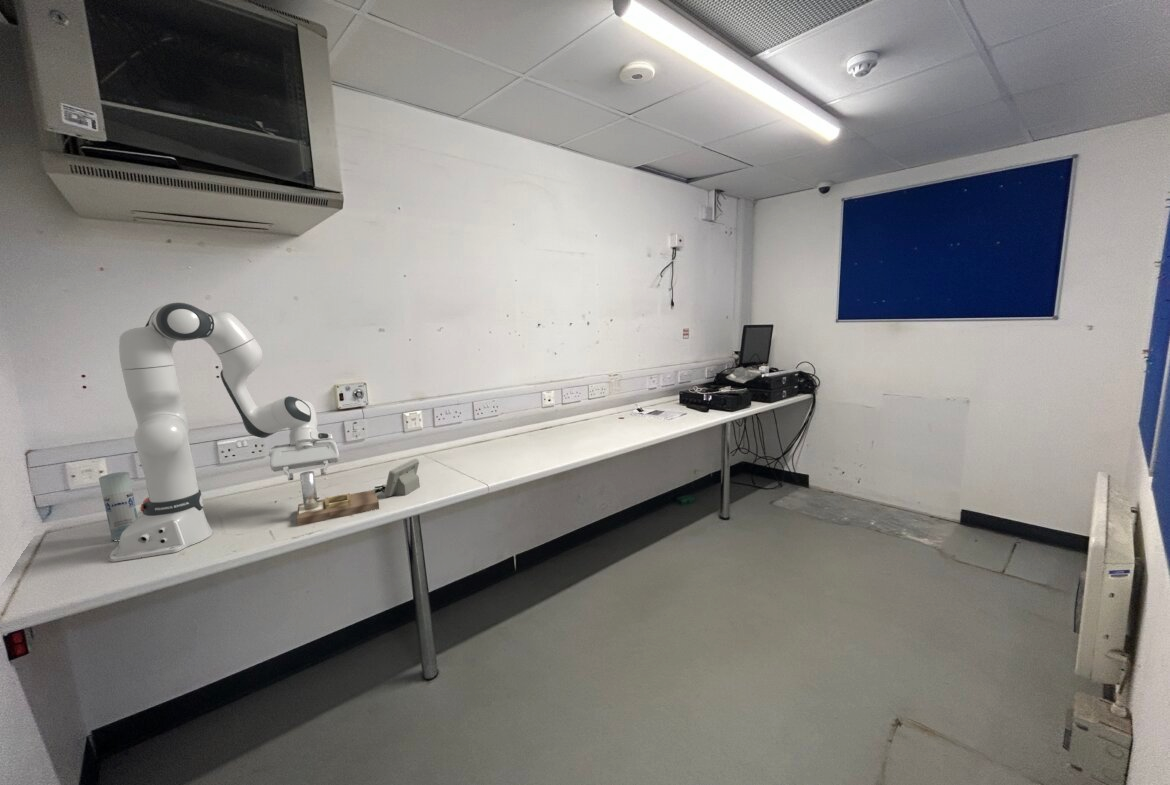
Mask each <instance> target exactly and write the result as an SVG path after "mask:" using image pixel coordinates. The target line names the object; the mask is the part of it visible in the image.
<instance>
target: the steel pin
mask: <svg viewBox="0 0 1170 785" xmlns="http://www.w3.org/2000/svg"><path fill="white" fill-rule="evenodd" d="M299 477H300V478H299V479H300V487H301V494H302V501H303V503H304V509H305V510H311V509H315V508H317V507H318V495H317V486H316V479H315V478H316V477H315V472H314V470H310V471H304V472H301V473H300V474H299Z"/></svg>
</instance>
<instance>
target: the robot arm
mask: <svg viewBox="0 0 1170 785" xmlns="http://www.w3.org/2000/svg"><path fill="white" fill-rule="evenodd" d="M198 339H200V340H203V341H204V342H206V343H207V344H208V345H209V346H210V347H211V349H212V350H213V351H214V353H215V354H216V355H217V357H218V358H219V360H220V362H221V366H222V369H221V370H220V372H219V373H220V374H219V375H220V379H221V382H222V383H223V386H224V388H225V389H226V391H227V394H228V395H229V397H230V399H231V400H232V402H233V404H234V406H235V408H236V410H237V412H238V413H239V415H240V417H241V420H242V422H243V426H244V427H245V430H246V432H247V433H249V434H250V435H251V436H252V437H257V438H261V439H265V438H268V437H270V436H272V435H274V434H276V433H278V432H279V431H280V432H281V431H282V430H284V429H287V428H288V429H289V430H290V431H289V435H288V438H289V443H285V444H281V445H274V447H270V448H269V450H268V456H269V457H270V461H269V467H270V469H271V471H273V472H276V473H277V472H282V471H283V473H284V474H285V475H286V477H287V480H288V481H293V480H294V474H293V472H292V473H291V472H290V470H296V469H302V468H308V467H315V466H320V465H321V466H323V467H322V468H320V476H326V475H327V472H326V471H327V469H328V468H329V466H330V464H333V463H334V464H335V463H338V462H339V461H340V453H339V449H338V445H337V443H336V441H335V440H334V436H333V434H332V433H330V432H321V431H318V425H319V424H318V416H317V411H316V409H315V406H314V404H313V403H311V402H310V401H308V400H303V399H299V398H297V397H294V396H291V395H289V396H286V397H283V398H280V399H278V400H275V401H273V402H270V403H268V404H266V405H264V406H257V404H256V403H255V401H254V399H253V398H252V394H250V392H249V390H248V387H247V384H246V383H247V380H248V377H249V376H250V375H251V374H252V373H253V372H254V371H256V370H257V368H258V367H259V366H260V364H261V363H262V361H263V357H264V352H263V349H262V347H261V345H260V344H259V342H258V341H257V340H256V338H255V337H254V335H252V333H251V332H250V331H249V329H248V328H247V327H246V325H244V324H243V323H242V322H241V321H240V320H239V319H238V318H237V317H236V316H235V315H233V313H231V312H227V311H216V312H212V313H208V312H207V311H204V310H202V309H200V308H198V307H196V306H194V305H192V304H189V303H185V302H176V301H175V302H167V303H164V304H162V305H160V306H158V307H156V309H154V310H153V312H152V313H151V315H150V316H149V319H148V320H147V322H146V324H145V326H144V327H143V326H142V327H133V328H129V329H128V330H125V331H123V332H122V333H121V335H120V336H119V340H118V342H119V345H118V354H119V363H120V368H121V372H122V376H123V381H124V384H125V389H126V394H127V398H128V399H129V402H130V405H131V407H132V410H133V413H134V417H135V420H136V422H137V428H136V430H135V432H134V435H133V439H134V443H135V448H136V451H137V455H138V458H139V461H140V465H141V469H142V470H143V475H144V479H145V483H146V484H145V485H146V489H147V494H148V497H146V498H145V499H144V500H143V501H142V503H141V504H140V512H141V513H142V514H141V515H140V516H139V517H138V519H136V520H135V521H134V522H133V523H132V524H130V525H129V526H128V527H127V528H126V529H125V530H124V531H123V532H122V534H121V537H120V541H118V543H119V544H118V546H116V547H115V548H114V549H113V550H111V552H110V554H109V561H111V562H112V563H114V562H121V561H129V560H135V559H140V558H141V557H142V558H146V557H153V556H154V557H155V556H160V555H166V554H168V555H169V554H171V553H172V554H173V553H177V552H180V551H182V550H183V549H186V548H188V547H190V546H192V545H194V544H197V543H199V542H201V541H204V540H206V539H207V538H209V537H211V535H212V534H213V532H214V530H213V529H212V528H211V526H210V523H209V521H208V520H207V517H206V514H205V512H204V499H203V498H204V497H203V494H202V491H201V489H199V484H198V479H197V478H198V477H197V473H196V466H195V462H194V459H193V453H192V449H191V445H190V439H189V432H190V424H189V420H188V415H187V411H186V408H185V403H184V400H183V396H182V392H181V388H180V384H179V379H178V374H177V369H176V365H175V360H174V357H173V349H174V345H175V344H176V343H177V342H185V341H192V340H198Z"/></svg>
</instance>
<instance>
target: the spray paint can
mask: <svg viewBox="0 0 1170 785" xmlns="http://www.w3.org/2000/svg"><path fill="white" fill-rule="evenodd" d="M98 481H99V487H100V490H101V494H102V499H103V504H104V509H105V513H106V518H107V523H108V528H109V531H110V537H111V540H112V541H113V540H120V537H121V534H122V532H123V531H124V530H125V529H126V528H127V527H128V526H129V525H130V524H132V523H133V522H134V521H135V520H136V519H138V518H139V517H138V513H137V512H138V511H137V507H136V502H135V496H134V490H133V486H132V480H131V475H130V472H129V471H120V472H114V473H108V474H105V475H102V476H100V477H98Z"/></svg>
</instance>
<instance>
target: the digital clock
mask: <svg viewBox="0 0 1170 785" xmlns="http://www.w3.org/2000/svg"><path fill="white" fill-rule="evenodd" d="M419 464H420V461H419V459H418V458H413V459H411V460H409V461H407V462H404V463H402V464H400V465H399V466H396V467H393V468H392V469H390V470H389V472H388V474H387V475H388V476H387V480H386V484H385V488H384V496H385V497H386V498H389V497H393V495H395V496H406V495H410V493H412V492H414V491H415V490H417V489H418V488H420V477H419V475H418V473H417V472H418V469H419V466H420V465H419Z"/></svg>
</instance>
